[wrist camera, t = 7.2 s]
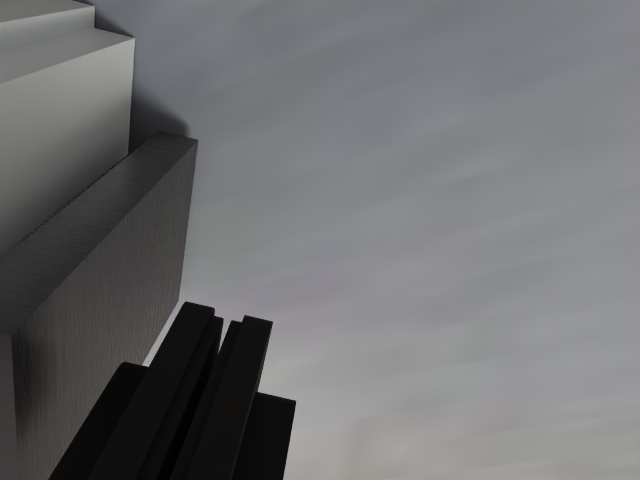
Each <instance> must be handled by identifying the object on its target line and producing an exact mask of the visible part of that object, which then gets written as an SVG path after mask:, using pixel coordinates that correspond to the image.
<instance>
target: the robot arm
mask: <svg viewBox="0 0 640 480" xmlns="http://www.w3.org/2000/svg"><path fill="white" fill-rule="evenodd" d="M214 314H215V309H214V308H212V307H208V306H203V305H199V304H195V303H191V302H184V304H183V305H182V307H181V309H180V311H179V313H178V315H177V316H176V318H175V320H174V322H173V324H172V326H171V327H170V329H169V331H168V333H167V335H166V336H165V338H164V340H163V342H162V344H161V346H160V347H159V349H158V351H157V353H156V355H155V357H154V358H153V360H152V362H151V364H150V366H149V367H146V366H142V365H138V364H133V363H129V362H125V361H124V362H123V363H121V364H120V366H119V367H118V368H117V370H116V371H115V373H114V374H113V376H112V377H111V379H110V381H109V382H108V384H107V386H106V387H105V389H104V390H103V392H102V394H101V395H100V397H99V398H98V400H97V402H96V403H95V405H94V406H93V408H92V410H91V411H90V413H89V414H88V416H87V418H86V419H85V421H84V422H83V424H82V426H81V427H80V429H79V431H78V432H77V434H76V435H75V437H74V439H73V440H72V442H71V443H70V445H69V447H68V448H67V450H66V451H65V453H64V455H63V456H62V458H61V459H60V461H59V463H58V464H57V466H56V467H55V469H54V471H53V472H52V474H51V475H50V477H49V479H48V480H283V476H284V470H285V465H286V459H287V453H288V447H289V442H290V436H291V430H292V424H293V418H294V413H295V406H296V401H295V400H290V399H286V398H281V397H277V396H273V395H268V394H264V393H260V392H258V387H259V383H260V378H261V374H262V370H263V365H264V361H265V356H266V352H267V347H268V343H269V338H270V334H271V329H272V324H273V322H272V321H268V320H264V319H259V318H255V317H251V316H246V315H245V316H244V318H243V321H242V322H238V321H234V320H232V321H231V323H230V325H229V328H228V331H227V333H226V336H225V338H224V341H223V343H222V346H221V348H220V351H219V346H220V340H221V334H222V328H223V322H224V319H223V318H221V317H216V316H214ZM218 352H219V354H218Z"/></svg>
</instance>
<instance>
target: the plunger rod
mask: <svg viewBox="0 0 640 480" xmlns="http://www.w3.org/2000/svg"><path fill="white" fill-rule="evenodd" d="M197 146H198V140H196V139H192V138H187V137H183V136H179V135H175V134H171V133H167V132H163V131H158V132H157V133H156V134H155V135H153V136H152V137H151V138H150V139H148V140H147V141H146V142H145V143H144V144H142V145H141V146H140V147H139V148H137V149H136V150H135V151H134V152H132V153H131V154H130V155H129V156H127V157H126V158H125V159H124V160H123V161H121V162H120V163H119V164H118V165H116V166H115V167H114V168H113V169H111V170H110V171H109V172H108V173H107V174H105V175H104V176H103V177H102V178H100V179H99V180H98V181H97V182H95V183H94V184H93V185H92V186H91V187H89V188H88V189H87V190H86V191H84V192H83V193H82V194H81V195H79V196H78V197H77V198H76V199H75V200H73V201H72V202H71V203H70V204H68V205H67V206H66V207H65V208H63V209H62V210H61V211H60V212H58V213H57V214H56V215H55V216H54V217H52V218H51V219H50V220H49V221H47V222H46V223H45V224H44V225H42V226H41V227H40V228H39V229H38V230H36V231H35V232H34V233H33V234H31V235H27V236H25V237H24V238H23V239H22V240H20V241H19V242H18V243H17V244H15V245H14V246H13V247H12V248H11V249H9V250H8V251H7V252H6V253H4V254H3V255H2V256H1V257H0V480H48V479H49V477H50V475H51V474H52V472H53V471H54V469H55V467H56V466H57V464H58V463H59V461H60V459H61V458H62V456H63V455H64V453H65V451H66V450H67V448H68V447H69V445H70V443H71V442H72V440H73V439H74V437H75V435H76V434H77V432H78V431H79V429H80V427H81V426H82V424H83V422H84V421H85V419H86V418H87V416H88V414H89V413H90V411H91V410H92V408H93V406H94V405H95V403H96V402H97V400H98V398H99V397H100V395H101V394H102V392H103V390H104V389H105V387H106V386H107V384H108V382H109V381H110V379H111V377H112V376H113V374H114V373H115V371H116V370H117V368H118V367H119V366H120V364H121V363H123V362H124V361H125V362H129V363H133V364H138V365H142V364H143V362H144V361H145V359H146V357H147V355H148V354H149V352H150V350H151V348H152V346H153V345H154V343H155V341H156V339H157V338H158V336H159V334H160V332H161V331H162V329H163V327H164V325H165V324H166V322H167V320H168V318H169V316H170V315H171V313H172V311H173V309H174V308H175V306H176V304H177V302H178V300H179V292H180V284H181V276H182V268H183V259H184V251H185V243H186V235H187V227H188V219H189V211H190V203H191V195H192V186H193V178H194V170H195V162H196V154H197Z"/></svg>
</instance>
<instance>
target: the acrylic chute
mask: <svg viewBox="0 0 640 480" xmlns="http://www.w3.org/2000/svg"><path fill="white" fill-rule="evenodd" d="M94 19H95V6H93V5H89V4H85V3H81V2H77V1H73V0H0V257H1V256H2V255H3V254H4V253H6V252H7V251H8V250H9V249H11V248H12V247H13V246H14V245H15V244H17V243H18V242H19V241H20V240H22V239H23V238H24V237H25V236H27V235H28V234H29V233H30V232H32V231H33V230H34V229H35V228H37V227H38V226H39V225H40V224H42V223H43V222H44V221H45V220H47V219H48V218H49V217H50V216H52V215H53V214H54V213H55V212H57V211H58V210H59V209H60V208H62V207H63V206H64V205H65V204H67V203H68V202H69V201H70V200H71V199H73V198H74V197H75V196H76V195H78V194H79V193H80V192H81V191H83V190H84V189H85V188H86V187H88V186H89V185H90V184H91V183H93V182H94V181H95V180H96V179H98V178H99V177H100V176H101V175H103V174H104V173H105V172H106V171H108V170H109V169H110V168H111V167H113V166H114V165H115V164H116V163H118V162H119V161H120V160H121V159H123V158H124V157H125V156H126V155H127V154H128V145H129V129H130V112H131V96H132V80H133V64H134V48H135V38H133V37H129V36H125V35H121V34H117V33H113V32H109V31H105V30H101V29H97V28H94Z"/></svg>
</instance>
